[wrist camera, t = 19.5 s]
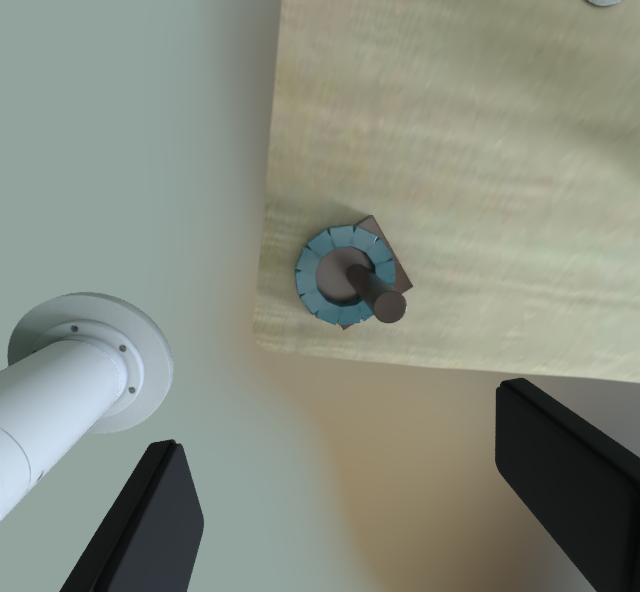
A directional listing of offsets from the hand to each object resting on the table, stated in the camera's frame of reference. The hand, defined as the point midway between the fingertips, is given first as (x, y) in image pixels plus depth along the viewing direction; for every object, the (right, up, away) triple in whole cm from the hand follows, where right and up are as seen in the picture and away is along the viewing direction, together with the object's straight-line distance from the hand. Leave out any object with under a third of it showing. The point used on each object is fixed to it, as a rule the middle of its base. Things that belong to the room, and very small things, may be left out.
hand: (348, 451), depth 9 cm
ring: (+2, +7, +24) cm, 25 cm away
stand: (+3, +7, +26) cm, 27 cm away
